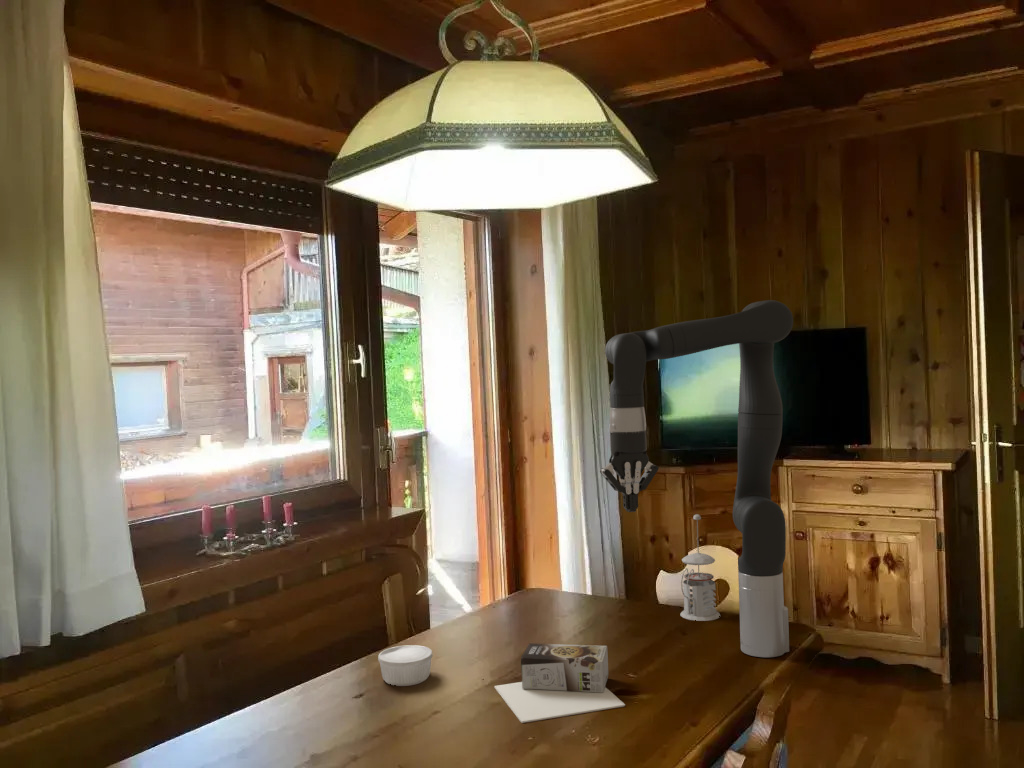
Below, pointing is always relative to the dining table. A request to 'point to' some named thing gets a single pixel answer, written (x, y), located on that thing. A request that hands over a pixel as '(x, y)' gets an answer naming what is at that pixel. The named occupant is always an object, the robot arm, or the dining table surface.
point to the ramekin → (405, 664)
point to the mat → (553, 702)
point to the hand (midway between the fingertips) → (630, 511)
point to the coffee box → (565, 667)
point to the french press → (699, 588)
